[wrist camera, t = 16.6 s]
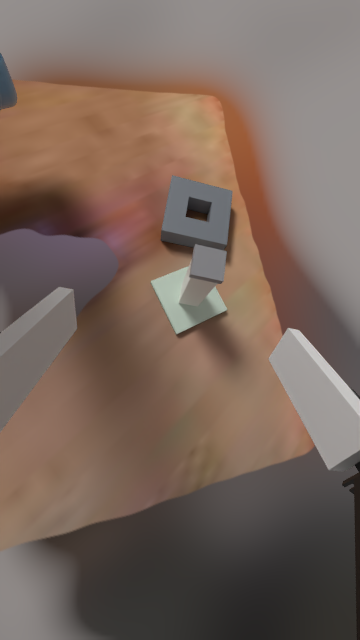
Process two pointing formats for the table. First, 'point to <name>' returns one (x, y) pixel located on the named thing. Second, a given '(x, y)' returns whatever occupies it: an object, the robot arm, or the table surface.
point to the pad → (182, 313)
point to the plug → (202, 274)
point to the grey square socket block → (200, 200)
